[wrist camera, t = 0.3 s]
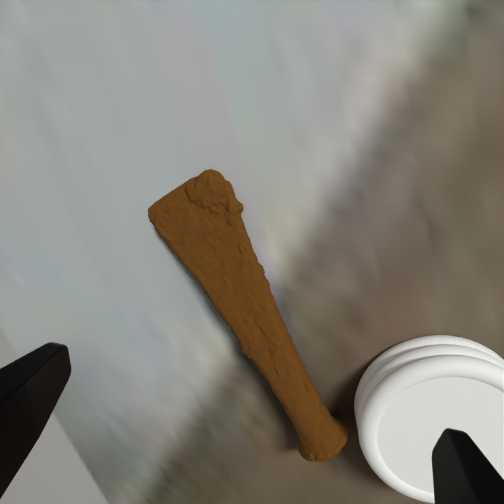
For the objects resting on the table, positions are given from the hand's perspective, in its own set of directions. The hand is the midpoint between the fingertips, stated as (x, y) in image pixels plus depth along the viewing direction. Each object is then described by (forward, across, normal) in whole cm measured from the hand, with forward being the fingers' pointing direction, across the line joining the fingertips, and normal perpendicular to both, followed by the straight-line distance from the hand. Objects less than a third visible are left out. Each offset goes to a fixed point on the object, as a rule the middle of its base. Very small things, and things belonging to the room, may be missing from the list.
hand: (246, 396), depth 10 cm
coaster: (+13, -11, +13) cm, 21 cm away
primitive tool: (+14, +1, +9) cm, 17 cm away
